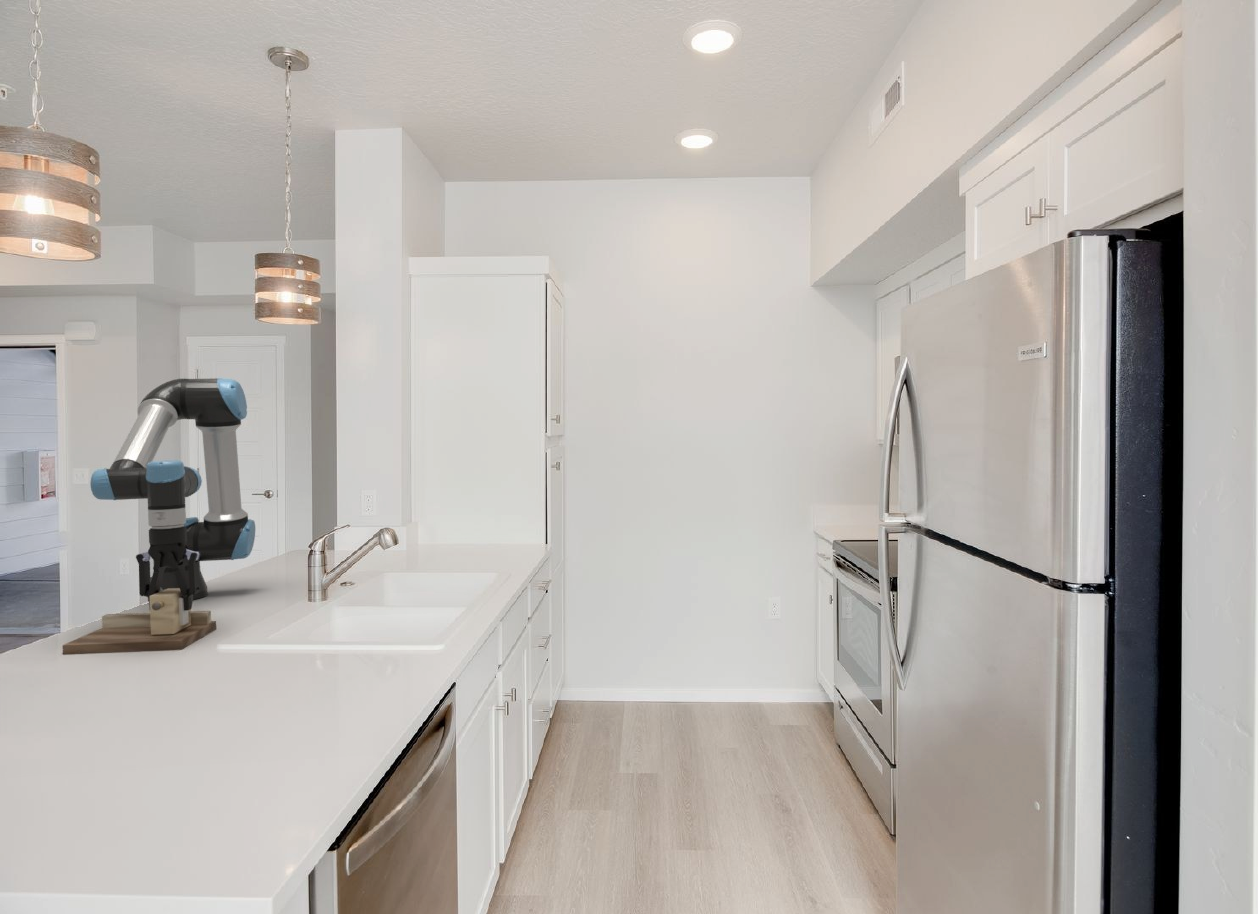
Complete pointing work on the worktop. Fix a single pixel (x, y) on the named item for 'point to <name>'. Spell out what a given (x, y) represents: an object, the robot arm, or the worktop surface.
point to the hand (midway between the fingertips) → (171, 624)
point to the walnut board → (139, 634)
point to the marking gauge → (166, 612)
